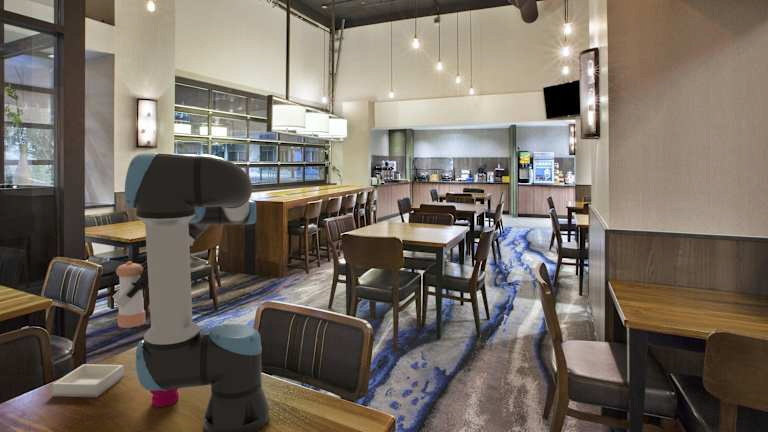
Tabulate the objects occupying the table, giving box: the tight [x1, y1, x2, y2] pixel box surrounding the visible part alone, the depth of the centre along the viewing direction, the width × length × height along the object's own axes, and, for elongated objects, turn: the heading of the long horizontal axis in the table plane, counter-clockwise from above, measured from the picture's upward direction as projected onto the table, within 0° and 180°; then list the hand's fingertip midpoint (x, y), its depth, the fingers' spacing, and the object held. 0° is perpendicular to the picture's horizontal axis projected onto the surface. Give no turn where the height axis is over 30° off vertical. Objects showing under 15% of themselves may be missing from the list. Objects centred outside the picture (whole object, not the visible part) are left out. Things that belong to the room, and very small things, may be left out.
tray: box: [51, 363, 125, 398], centre depth 122 cm, size 12×12×4 cm
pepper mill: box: [149, 388, 180, 408], centre depth 114 cm, size 7×7×20 cm
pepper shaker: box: [115, 261, 147, 329], centre depth 131 cm, size 7×7×19 cm
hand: (117, 302), depth 129 cm, fingers closed on pepper shaker, 6 cm apart
